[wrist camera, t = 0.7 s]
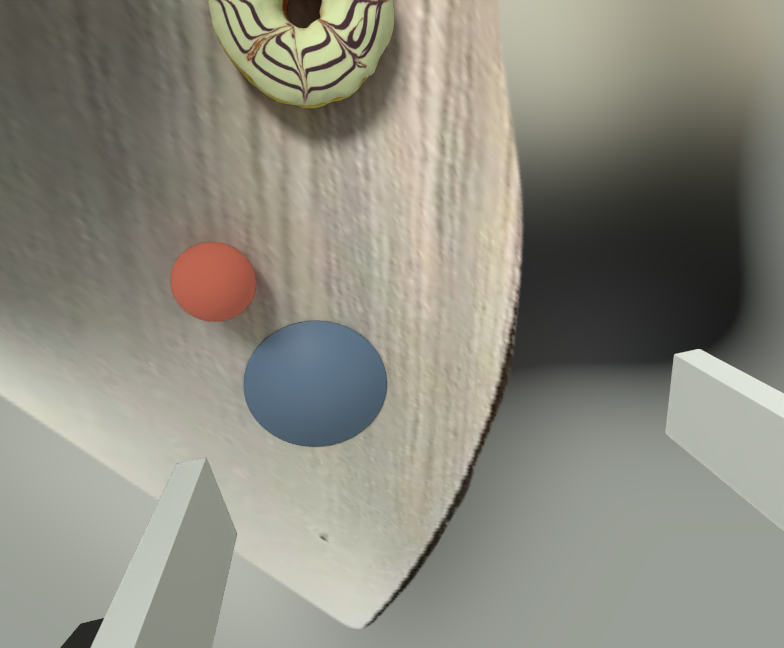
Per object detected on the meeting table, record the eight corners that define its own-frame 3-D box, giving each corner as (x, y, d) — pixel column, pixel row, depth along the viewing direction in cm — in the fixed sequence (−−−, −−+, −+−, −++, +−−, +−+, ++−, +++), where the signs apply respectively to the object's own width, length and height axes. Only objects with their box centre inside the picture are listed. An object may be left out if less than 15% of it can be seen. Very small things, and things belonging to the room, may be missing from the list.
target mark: (214, 395, 36) (213, 397, 36) (306, 291, 34) (306, 292, 34) (325, 467, 40) (325, 468, 40) (414, 377, 38) (414, 378, 38)
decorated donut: (419, 25, 29) (432, 7, 26) (309, 144, 31) (307, 142, 27) (302, -132, 25) (298, -178, 22) (184, 12, 27) (163, -9, 24)
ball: (169, 275, 32) (139, 297, 27) (214, 220, 31) (191, 231, 26) (232, 320, 34) (214, 349, 29) (276, 269, 33) (266, 289, 28)
